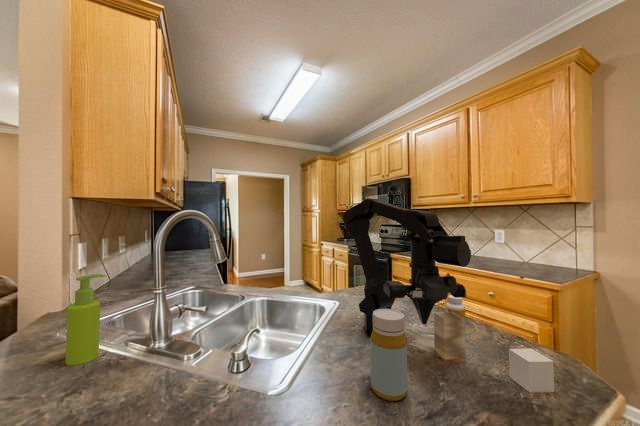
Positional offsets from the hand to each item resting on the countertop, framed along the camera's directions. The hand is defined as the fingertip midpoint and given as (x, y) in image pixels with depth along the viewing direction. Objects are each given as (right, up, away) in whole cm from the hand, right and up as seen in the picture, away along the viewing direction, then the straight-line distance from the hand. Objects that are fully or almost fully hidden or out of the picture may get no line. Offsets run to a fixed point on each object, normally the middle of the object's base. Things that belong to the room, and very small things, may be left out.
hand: (423, 323), depth 62 cm
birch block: (+6, -8, 0) cm, 10 cm away
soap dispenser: (-84, -8, -1) cm, 84 cm away
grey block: (+18, -8, -11) cm, 22 cm away
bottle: (-12, -8, -13) cm, 19 cm away
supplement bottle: (+17, -9, +16) cm, 25 cm away
